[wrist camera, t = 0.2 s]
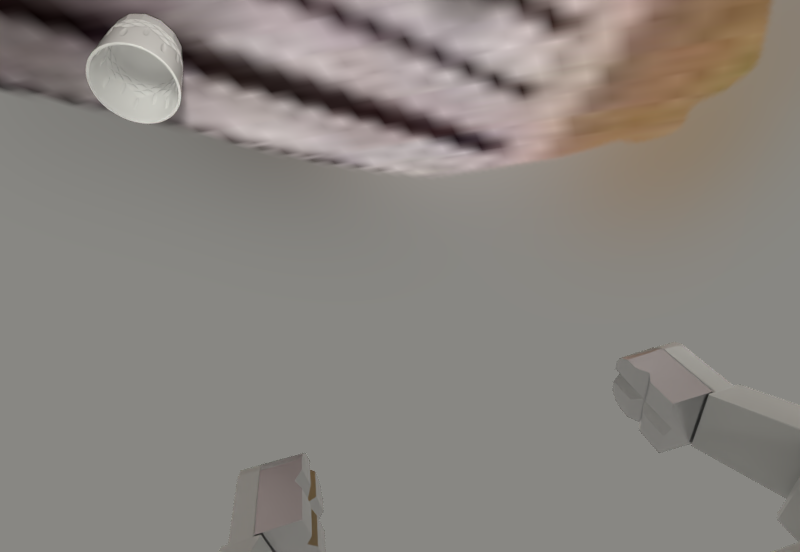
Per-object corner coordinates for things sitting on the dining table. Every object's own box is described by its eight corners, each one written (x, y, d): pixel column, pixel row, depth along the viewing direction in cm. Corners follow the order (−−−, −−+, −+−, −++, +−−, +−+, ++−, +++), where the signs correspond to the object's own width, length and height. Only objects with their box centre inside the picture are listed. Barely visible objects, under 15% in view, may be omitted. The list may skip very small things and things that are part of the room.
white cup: (104, 64, 46) (83, 107, 40) (109, -9, 42) (87, 26, 36) (182, 92, 51) (174, 134, 44) (194, 27, 46) (187, 65, 40)
